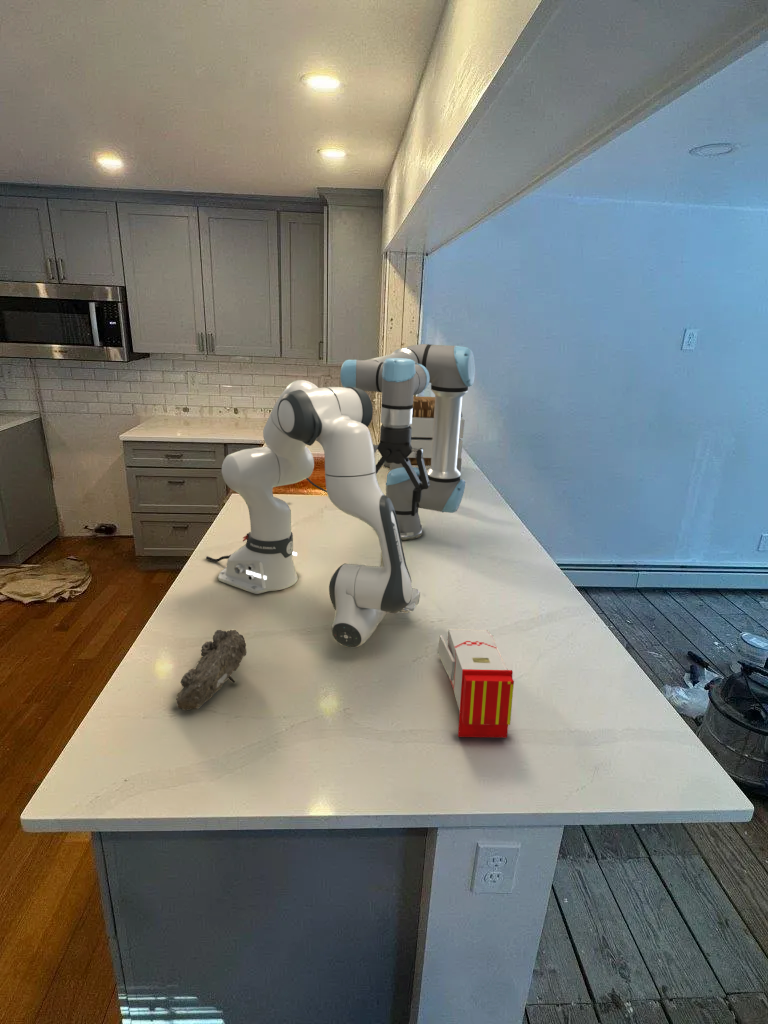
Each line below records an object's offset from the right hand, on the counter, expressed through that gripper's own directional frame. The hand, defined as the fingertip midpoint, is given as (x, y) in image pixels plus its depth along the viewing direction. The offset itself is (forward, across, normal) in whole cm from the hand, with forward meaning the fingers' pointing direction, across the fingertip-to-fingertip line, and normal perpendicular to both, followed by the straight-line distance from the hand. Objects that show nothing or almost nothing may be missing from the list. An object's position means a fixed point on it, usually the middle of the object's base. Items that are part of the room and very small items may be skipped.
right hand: (391, 511), depth 143 cm
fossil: (+26, +26, +43) cm, 57 cm away
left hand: (+20, 0, -1) cm, 20 cm away
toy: (+26, -25, +31) cm, 48 cm away
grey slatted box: (+26, +15, -130) cm, 134 cm away
